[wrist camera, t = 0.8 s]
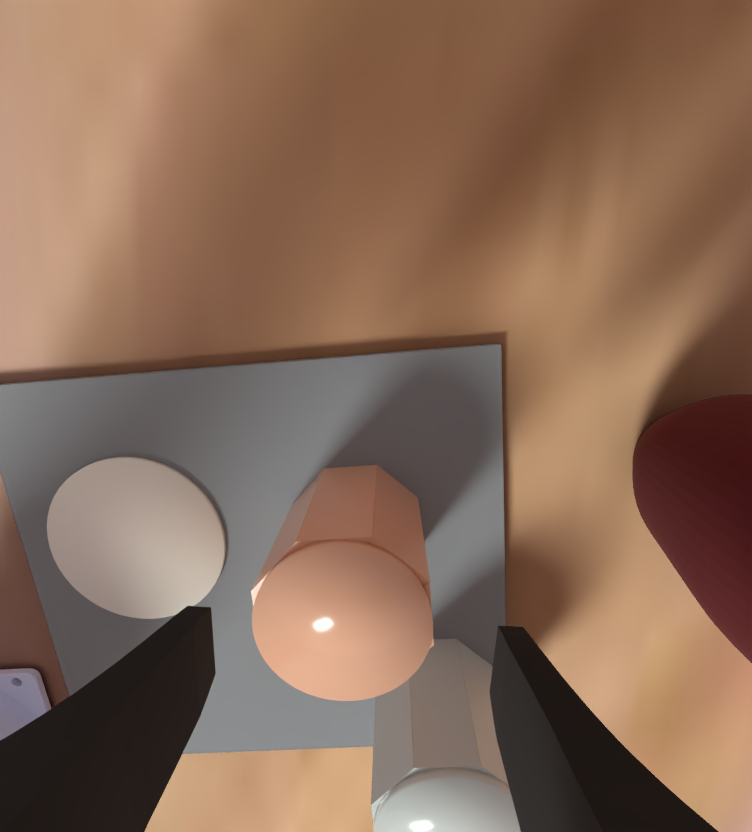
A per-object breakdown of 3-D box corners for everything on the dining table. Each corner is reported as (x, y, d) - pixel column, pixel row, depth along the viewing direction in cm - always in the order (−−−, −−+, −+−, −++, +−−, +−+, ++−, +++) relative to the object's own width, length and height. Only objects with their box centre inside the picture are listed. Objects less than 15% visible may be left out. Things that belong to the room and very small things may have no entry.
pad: (76, 618, 22) (71, 623, 22) (30, 462, 20) (25, 465, 20) (238, 610, 22) (236, 614, 21) (209, 450, 20) (206, 452, 19)
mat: (95, 746, 25) (88, 757, 24) (-14, 384, 20) (-26, 387, 19) (504, 730, 24) (507, 741, 23) (497, 343, 19) (501, 344, 18)
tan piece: (302, 583, 21) (265, 704, 15) (286, 471, 20) (238, 551, 14) (423, 577, 21) (437, 697, 15) (415, 462, 20) (428, 540, 13)
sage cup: (382, 735, 23) (380, 896, 17) (373, 642, 22) (366, 781, 16) (493, 730, 23) (532, 893, 17) (491, 636, 22) (532, 775, 15)
